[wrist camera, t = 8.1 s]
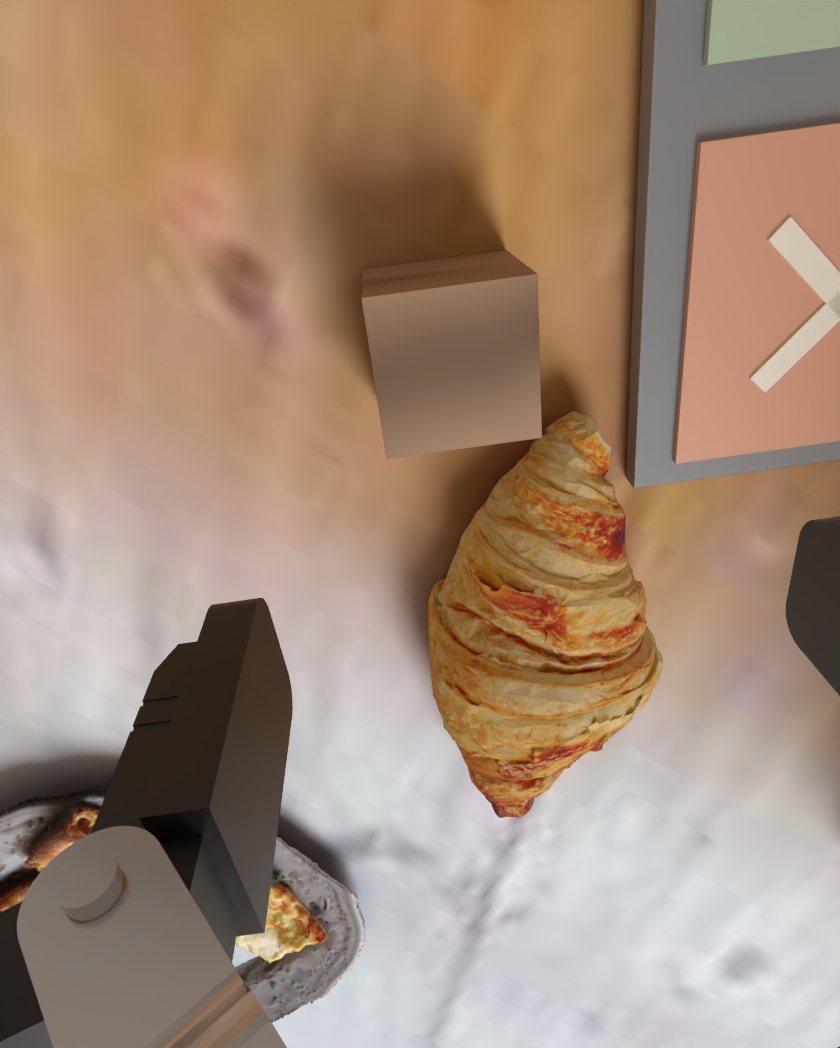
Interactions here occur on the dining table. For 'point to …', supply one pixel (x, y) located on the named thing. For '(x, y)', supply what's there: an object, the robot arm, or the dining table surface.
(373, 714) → the dining table surface
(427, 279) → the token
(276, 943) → the food plate
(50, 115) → the dining table surface
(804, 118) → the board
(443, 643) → the croissant
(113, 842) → the robot arm
